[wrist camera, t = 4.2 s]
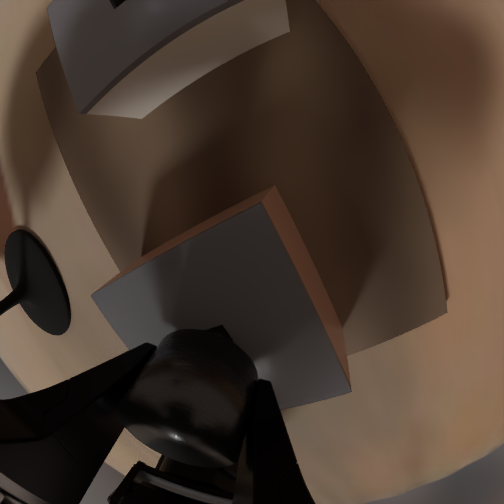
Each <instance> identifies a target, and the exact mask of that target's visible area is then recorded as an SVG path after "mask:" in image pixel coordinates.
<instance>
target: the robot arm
mask: <svg viewBox="0 0 504 504" xmlns="http://www.w3.org/2000/svg"><path fill="white" fill-rule="evenodd" d="M156 348H157V346H156V345H154V344H151V343H149V342H146V343H143V344H141V345H139V346H137V347H135V348H133V349H131V350H129V351H127V352H125V353H123V354H121V355H119V356H117V357H115V358H113V359H110V360H108V361H106V362H104V363H102V364H100V365H98V366H96V367H94V368H91V369H89V370H87V371H85V372H83V373H81V374H79V375H76V376H74V377H72V378H70V379H69V380H68V379H67V380H65V381H63V382H61V383H58V384H56V385H54V386H51V387H49V388H46V389H43V390H40V391H37V392H33V393H30V394H26V395H23V396H20V397H16V398H12V399H6V400H0V504H79V503H80V502H81V500H82V498H83V496H84V495H85V493H86V491H87V489H88V488H89V486H90V484H91V482H92V481H93V479H94V477H95V476H96V474H97V472H98V471H99V469H100V467H101V466H102V464H103V462H104V461H105V459H106V457H107V456H108V454H109V452H110V451H111V449H112V447H113V446H114V444H115V442H116V441H117V439H118V437H119V436H120V434H121V432H122V431H123V429H124V427H125V426H124V425H123V424H122V422H121V421H120V419H119V417H118V415H117V409H116V408H117V405H118V403H119V402H120V400H121V399H122V397H123V396H124V394H125V393H126V392H127V390H128V389H129V387H130V386H131V384H132V383H133V381H134V380H135V378H136V377H137V375H138V374H139V373H140V371H141V370H142V368H143V367H144V365H145V364H146V362H147V361H148V360H149V358H150V357H151V355H152V354H153V352H154V351H155V349H156ZM107 501H108V503H109V504H315V502H314V500H313V498H312V496H311V494H310V492H309V490H308V488H307V486H306V484H305V481H304V479H303V476H302V474H301V471H300V468H299V465H298V463H297V459H296V456H295V453H294V450H293V447H292V444H291V441H290V438H289V435H288V432H287V429H286V426H285V423H284V420H283V417H282V414H281V411H280V408H279V405H278V402H277V399H276V395H275V392H274V389H273V386H272V383H271V381H269V380H265V379H259V380H258V382H257V386H256V391H255V395H254V399H253V403H252V408H251V412H250V416H249V421H248V425H247V429H246V433H245V437H244V441H243V445H242V448H241V452H240V456H239V459H238V461H237V462H236V463H234V464H233V465H230V466H227V467H221V468H206V467H199V466H194V465H189V464H186V463H182V462H179V461H176V460H174V459H171V458H169V457H166V456H164V455H161V457H160V459H159V461H158V464H157V466H156V468H152V467H150V466H148V465H146V464H145V463H143V462H141V461H138V462H137V464H134V466H133V467H132V468H131V470H130V471H129V472H128V474H127V475H126V477H125V478H124V479H123V481H122V482H121V484H120V485H119V486H118V488H117V489H116V490H115V491H114V492H113V493H112V494H111V495H110V496H109V497H108V499H107Z"/></svg>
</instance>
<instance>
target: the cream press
mask: <svg viewBox="0 0 504 504" xmlns="http://www.w3.org/2000/svg"><path fill="white" fill-rule="evenodd" d="M47 11H48V16H49V20H50V25H51V29H52V33H53V37H54V40H55V44H56V48H57V51H58V54H59V58H60V61H61V64H62V67H63V71H64V74H65V77H66V80H67V82H68V85H69V88H70V91H71V94H72V97H73V99H74V102H75V105H76V107H77V110H78V112H79V114H93V115H108V116H119V117H129V118H138V119H142V118H144V117H145V116H146V115H147V114H149V113H150V112H151V111H153V110H154V109H155V108H157V107H158V106H159V105H161V104H162V103H163V102H165V101H166V100H167V99H169V98H170V97H172V96H173V95H174V94H176V93H177V92H179V91H180V90H182V89H183V88H185V87H186V86H188V85H189V84H191V83H192V82H194V81H195V80H197V79H199V78H200V77H202V76H203V75H205V74H207V73H208V72H210V71H212V70H213V69H215V68H217V67H218V66H220V65H222V64H224V63H226V62H227V61H229V60H231V59H233V58H235V57H237V56H238V55H240V54H242V53H244V52H246V51H248V50H250V49H252V48H254V47H256V46H258V45H260V44H263V43H265V42H267V41H269V40H271V39H273V38H276V37H278V36H280V35H283V34H285V33H288V32H290V28H289V21H288V13H287V7H286V0H53V1H52V3H51V4H50V5H49V6H48V7H47Z"/></svg>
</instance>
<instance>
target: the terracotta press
mask: <svg viewBox="0 0 504 504" xmlns="http://www.w3.org/2000/svg"><path fill="white" fill-rule="evenodd" d="M91 297H92V299H93V300H94V302H95V303H96V305H97V306H98V308H99V309H100V311H101V312H102V314H103V315H104V317H105V318H106V319H107V321H108V322H109V324H110V325H111V326H112V328H113V329H114V331H115V332H116V333H117V335H118V336H119V337H120V339H121V340H122V341H123V343H124V344H125V345H126V347H127V348H128V349H129V350H131V349H133V348H135V347H137V346H139V345H141V344H143V343H146V342H149V343H151V344H154V345H156V346H157V347H158V345H159V344H160V342H161V341H162V339H163V338H164V337H165V336H166V335H168V334H170V333H171V332H174V331H177V330H181V329H199V330H206V329H210V328H213V327H216V326H219V325H223V326H224V328H225V329H226V331H227V332H228V334H229V335H230V337H231V338H232V340H233V341H234V342H235V344H236V345H238V346H239V347H240V348H241V349H243V350H244V351H245V352H246V353H247V354H248V356H249V357H250V358H251V359H252V361H253V363H254V364H255V366H256V369H257V373H258V380H259V379H265V380H269V381H271V383H272V386H273V389H274V392H275V395H276V399H277V402H278V405H279V408H280V410H282V409H287V408H292V407H296V406H301V405H305V404H309V403H313V402H317V401H321V400H325V399H329V398H332V397H336V396H339V395H343V394H346V393H349V392H352V391H351V382H350V375H349V367H348V360H347V353H346V347H345V340H344V334H343V328H342V326H341V324H340V321H339V319H338V317H337V314H336V312H335V310H334V307H333V305H332V303H331V300H330V298H329V296H328V294H327V291H326V289H325V287H324V285H323V283H322V280H321V278H320V276H319V274H318V272H317V269H316V267H315V265H314V263H313V261H312V259H311V257H310V254H309V252H308V250H307V248H306V246H305V244H304V242H303V240H302V238H301V236H300V234H299V232H298V230H297V228H296V225H295V223H294V221H293V219H292V217H291V215H290V213H289V211H288V209H287V207H286V205H285V203H284V202H283V200H282V198H281V196H280V194H279V192H278V190H277V188H276V186H275V185H274V186H272V187H270V188H268V189H266V190H263V191H261V192H259V193H257V194H255V195H254V196H252V197H250V198H248V199H246V200H244V201H242V202H240V203H238V204H236V205H234V206H232V207H230V208H228V209H226V210H224V211H222V212H221V213H219V214H217V215H215V216H213V217H211V218H209V219H207V220H206V221H204V222H202V223H200V224H198V225H196V226H195V227H193V228H191V229H189V230H187V231H185V232H184V233H182V234H180V235H178V236H176V237H175V238H173V239H171V240H169V241H168V242H166V243H164V244H162V245H161V246H159V247H157V248H155V249H154V250H152V251H150V252H148V253H147V254H145V255H143V256H142V257H140V258H139V259H137V260H136V261H135V262H133V263H132V264H131V265H129V266H128V267H127V268H125V269H124V270H123V271H121V272H120V273H119V274H117V275H116V276H115V277H113V278H112V279H111V280H110V281H108V282H107V283H106V284H104V285H103V286H102V287H101V288H99V289H98V290H97V291H96V292H94V293H93V294H92V295H91Z"/></svg>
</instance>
